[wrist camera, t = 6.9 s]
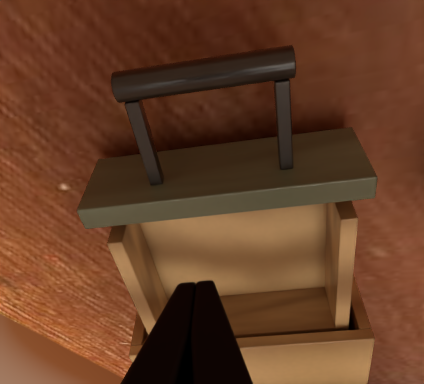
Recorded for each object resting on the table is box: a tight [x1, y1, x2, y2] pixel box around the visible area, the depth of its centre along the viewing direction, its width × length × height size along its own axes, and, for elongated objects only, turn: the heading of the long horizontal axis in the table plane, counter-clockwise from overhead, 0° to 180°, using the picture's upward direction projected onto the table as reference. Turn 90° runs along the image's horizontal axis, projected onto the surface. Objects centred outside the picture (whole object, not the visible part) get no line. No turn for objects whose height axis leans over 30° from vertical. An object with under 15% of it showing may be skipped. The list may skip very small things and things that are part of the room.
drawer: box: [77, 45, 377, 338], centre depth 21 cm, size 17×13×4 cm
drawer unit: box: [129, 274, 375, 384], centre depth 30 cm, size 13×14×6 cm
